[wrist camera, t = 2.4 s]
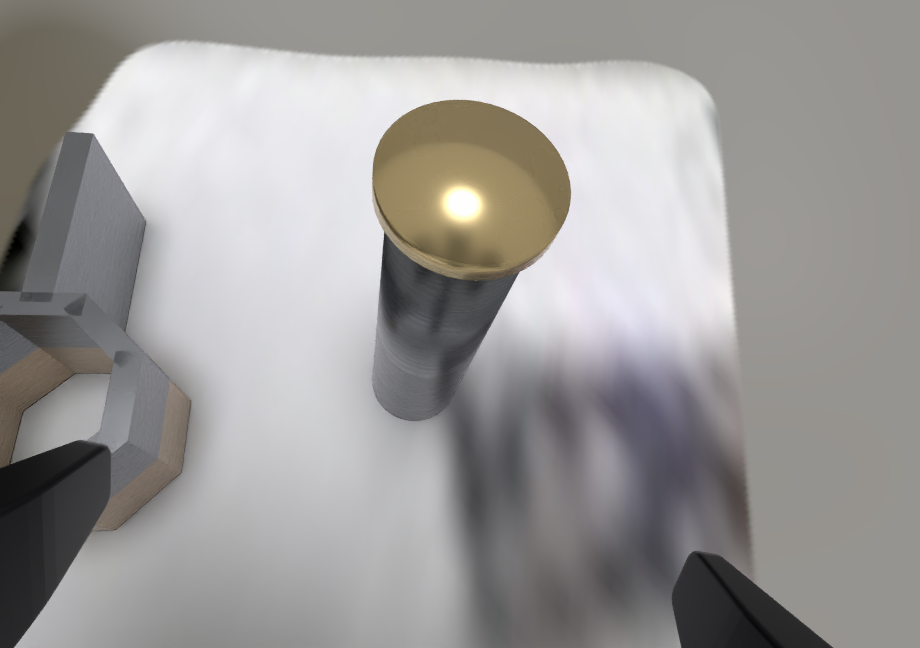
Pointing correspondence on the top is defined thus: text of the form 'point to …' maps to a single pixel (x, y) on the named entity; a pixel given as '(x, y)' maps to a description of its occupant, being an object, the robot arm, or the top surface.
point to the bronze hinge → (91, 329)
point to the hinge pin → (454, 240)
